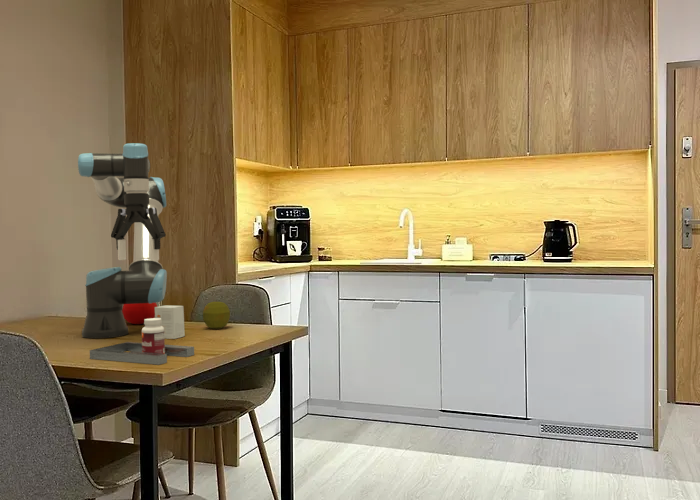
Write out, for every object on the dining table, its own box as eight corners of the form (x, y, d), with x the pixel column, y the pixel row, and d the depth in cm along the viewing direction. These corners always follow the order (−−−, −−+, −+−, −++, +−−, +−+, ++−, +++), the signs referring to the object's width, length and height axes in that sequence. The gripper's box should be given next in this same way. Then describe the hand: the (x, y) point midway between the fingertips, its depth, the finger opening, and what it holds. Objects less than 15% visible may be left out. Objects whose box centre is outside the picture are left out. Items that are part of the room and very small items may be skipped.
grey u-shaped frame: (89, 358, 195) (89, 350, 195) (127, 349, 208) (127, 341, 208) (158, 364, 184) (158, 355, 184) (194, 354, 198) (194, 346, 198)
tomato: (126, 322, 272) (125, 294, 271) (160, 321, 273) (159, 293, 273) (119, 326, 260) (118, 297, 259) (154, 325, 261) (154, 296, 261)
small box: (185, 336, 232) (184, 305, 232) (174, 339, 227) (173, 307, 226) (166, 335, 235) (165, 304, 235) (155, 338, 230) (154, 306, 230)
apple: (234, 328, 248) (234, 298, 248) (209, 331, 243) (208, 300, 242) (223, 325, 256) (222, 296, 256) (198, 328, 251) (198, 298, 251)
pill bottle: (137, 358, 194) (136, 319, 194) (156, 354, 199) (155, 317, 199) (150, 360, 190) (149, 321, 190) (169, 357, 195) (168, 318, 195)
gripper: (98, 194, 219) (100, 260, 219) (159, 191, 208) (161, 260, 209) (115, 194, 225) (117, 259, 226) (175, 191, 215) (177, 259, 216)
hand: (138, 260), depth 217 cm, fingers open, 13 cm apart
